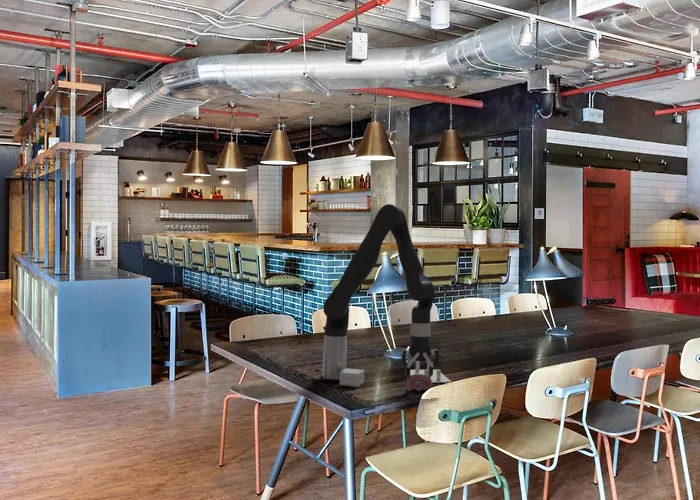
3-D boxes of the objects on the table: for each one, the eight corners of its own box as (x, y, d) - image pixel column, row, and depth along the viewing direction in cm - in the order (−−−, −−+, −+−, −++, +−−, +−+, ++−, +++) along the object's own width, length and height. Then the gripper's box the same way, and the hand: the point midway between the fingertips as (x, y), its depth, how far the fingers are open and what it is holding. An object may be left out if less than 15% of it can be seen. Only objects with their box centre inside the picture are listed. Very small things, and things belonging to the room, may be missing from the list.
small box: (364, 382, 248) (365, 369, 248) (358, 387, 241) (358, 374, 241) (346, 380, 251) (346, 367, 251) (339, 385, 243) (339, 371, 243)
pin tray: (416, 384, 247) (417, 371, 247) (405, 372, 267) (405, 360, 267) (451, 384, 249) (451, 371, 249) (437, 371, 269) (438, 360, 268)
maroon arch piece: (431, 393, 240) (430, 375, 243) (433, 391, 236) (432, 372, 238) (405, 393, 239) (405, 374, 242) (407, 390, 235) (406, 372, 238)
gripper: (404, 336, 234) (402, 379, 235) (441, 335, 236) (440, 379, 237) (399, 332, 242) (398, 374, 242) (436, 332, 244) (434, 374, 244)
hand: (419, 376), depth 240 cm, fingers closed on maroon arch piece, 8 cm apart
